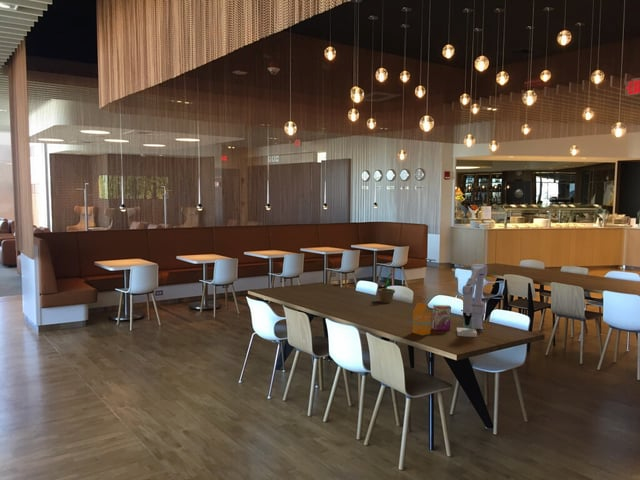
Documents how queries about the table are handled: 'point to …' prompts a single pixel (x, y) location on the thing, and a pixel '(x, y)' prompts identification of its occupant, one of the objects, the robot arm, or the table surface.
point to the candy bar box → (441, 317)
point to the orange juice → (421, 319)
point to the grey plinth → (466, 332)
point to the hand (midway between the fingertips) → (466, 324)
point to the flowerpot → (386, 292)
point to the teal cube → (467, 325)
